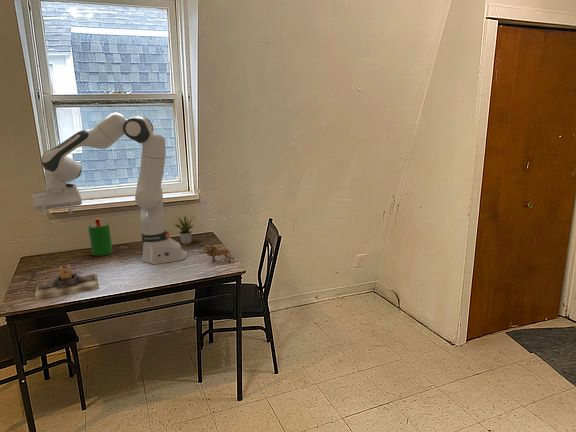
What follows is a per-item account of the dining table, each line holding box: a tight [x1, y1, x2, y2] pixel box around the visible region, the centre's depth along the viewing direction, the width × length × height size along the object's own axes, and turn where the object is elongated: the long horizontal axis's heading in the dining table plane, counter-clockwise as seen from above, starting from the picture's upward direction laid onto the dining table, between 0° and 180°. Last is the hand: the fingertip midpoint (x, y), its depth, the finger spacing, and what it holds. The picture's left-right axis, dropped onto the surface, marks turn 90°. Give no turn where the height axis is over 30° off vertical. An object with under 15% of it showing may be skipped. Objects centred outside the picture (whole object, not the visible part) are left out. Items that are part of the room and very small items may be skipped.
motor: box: [87, 217, 113, 257], centre depth 229 cm, size 10×9×20 cm
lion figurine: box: [203, 244, 235, 263], centre depth 212 cm, size 15×5×9 cm, turn 95°
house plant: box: [172, 214, 196, 245], centre depth 245 cm, size 14×14×16 cm
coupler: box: [59, 264, 73, 281], centre depth 184 cm, size 4×4×8 cm
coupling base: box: [34, 272, 100, 301], centre depth 185 cm, size 24×14×5 cm, turn 116°
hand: (59, 214), depth 198 cm, fingers open, 8 cm apart
